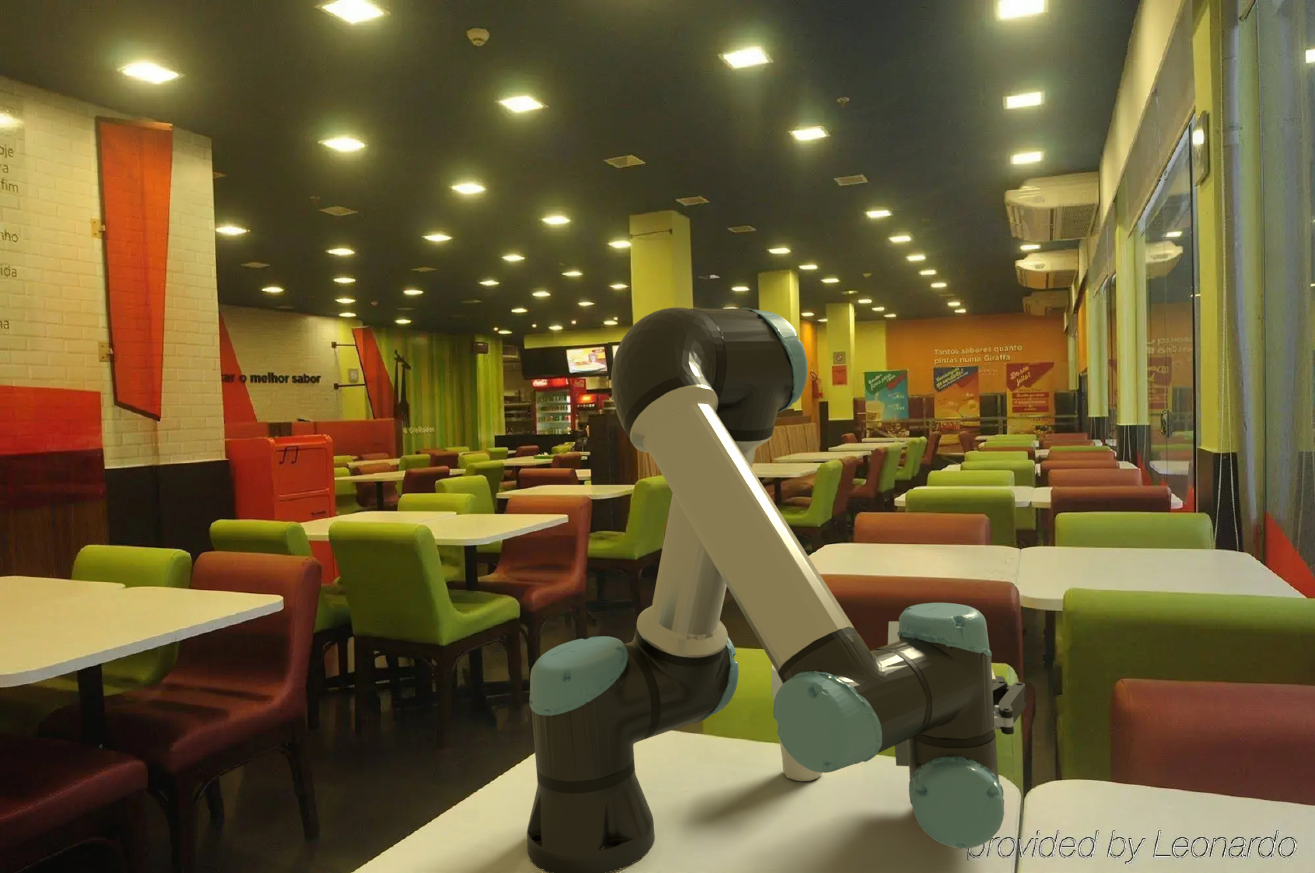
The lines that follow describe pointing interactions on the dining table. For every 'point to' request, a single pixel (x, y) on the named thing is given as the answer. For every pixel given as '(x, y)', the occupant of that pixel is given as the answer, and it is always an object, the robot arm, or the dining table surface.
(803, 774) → the drinking glass
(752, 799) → the dining table surface
